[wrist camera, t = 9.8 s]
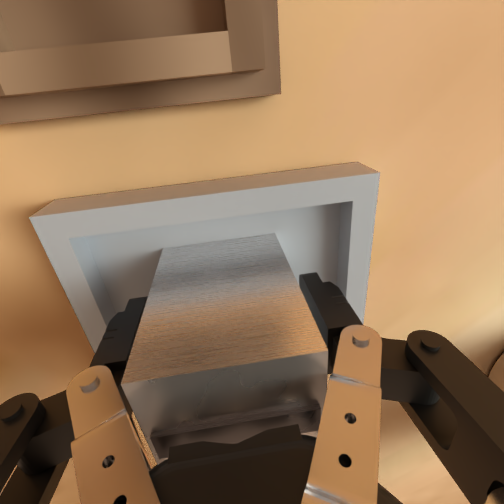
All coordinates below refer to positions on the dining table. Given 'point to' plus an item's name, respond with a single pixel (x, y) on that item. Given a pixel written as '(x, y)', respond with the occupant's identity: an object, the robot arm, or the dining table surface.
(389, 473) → the dining table surface
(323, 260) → the tray
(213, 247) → the block
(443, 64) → the dining table surface
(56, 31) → the frame
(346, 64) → the dining table surface
